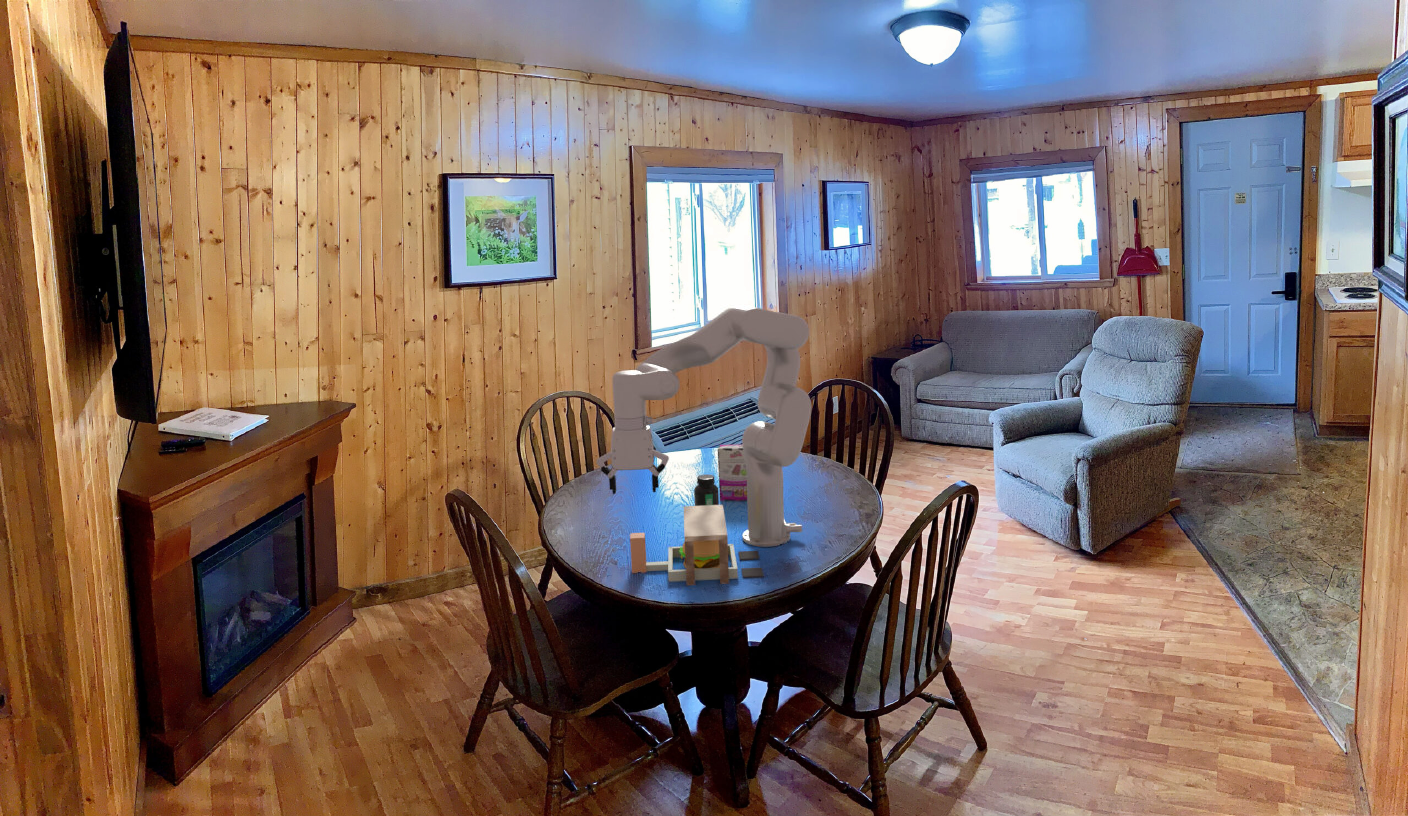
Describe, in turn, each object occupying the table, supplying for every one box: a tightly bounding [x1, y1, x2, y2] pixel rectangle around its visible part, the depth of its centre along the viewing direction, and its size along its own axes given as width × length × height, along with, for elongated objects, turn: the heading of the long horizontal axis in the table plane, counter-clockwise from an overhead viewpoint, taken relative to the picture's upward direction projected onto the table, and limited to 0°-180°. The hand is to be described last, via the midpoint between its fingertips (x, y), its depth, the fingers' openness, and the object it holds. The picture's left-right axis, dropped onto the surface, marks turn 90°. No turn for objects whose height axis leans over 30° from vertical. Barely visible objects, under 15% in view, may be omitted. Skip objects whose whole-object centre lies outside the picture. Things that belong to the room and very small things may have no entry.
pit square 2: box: [741, 566, 765, 579], centre depth 227 cm, size 5×5×1 cm
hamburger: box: [679, 540, 720, 569], centre depth 231 cm, size 12×12×9 cm
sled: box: [629, 532, 739, 583], centre depth 231 cm, size 26×16×9 cm, turn 92°
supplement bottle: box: [693, 474, 720, 506], centre depth 265 cm, size 7×7×12 cm
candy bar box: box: [717, 444, 747, 502], centre depth 280 cm, size 11×5×16 cm, turn 80°
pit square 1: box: [738, 550, 761, 561], centre depth 237 cm, size 5×5×1 cm
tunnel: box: [683, 504, 730, 586], centre depth 230 cm, size 10×22×12 cm, turn 2°
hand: (634, 491), depth 227 cm, fingers open, 9 cm apart
